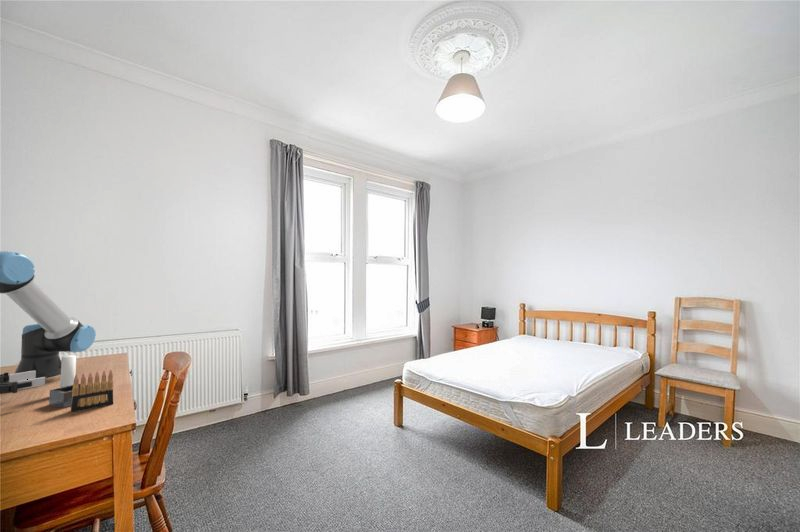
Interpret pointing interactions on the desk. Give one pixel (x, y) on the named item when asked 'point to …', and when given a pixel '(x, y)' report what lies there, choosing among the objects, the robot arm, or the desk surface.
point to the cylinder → (68, 370)
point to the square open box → (62, 396)
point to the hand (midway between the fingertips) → (40, 377)
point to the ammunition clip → (92, 392)
